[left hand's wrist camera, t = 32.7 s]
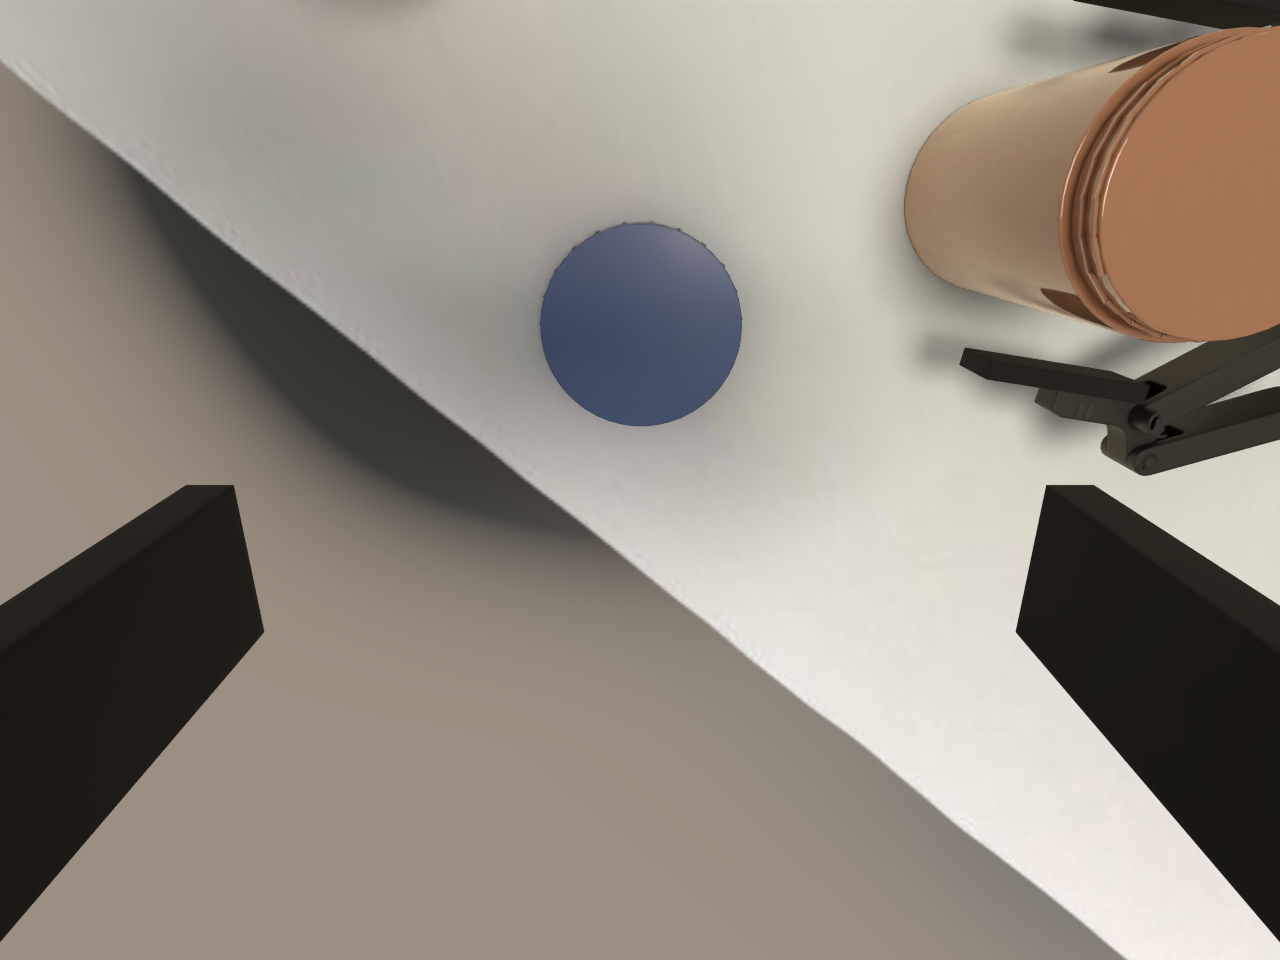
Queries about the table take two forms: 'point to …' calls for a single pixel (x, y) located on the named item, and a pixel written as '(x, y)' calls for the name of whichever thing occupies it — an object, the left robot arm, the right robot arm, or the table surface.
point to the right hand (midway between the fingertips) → (1030, 186)
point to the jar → (1118, 192)
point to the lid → (641, 324)
